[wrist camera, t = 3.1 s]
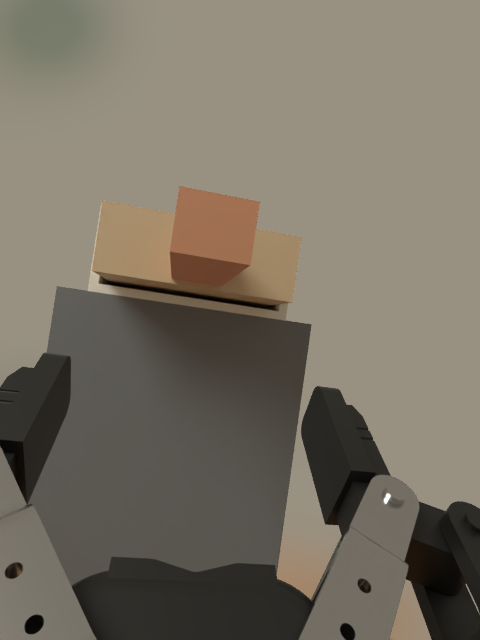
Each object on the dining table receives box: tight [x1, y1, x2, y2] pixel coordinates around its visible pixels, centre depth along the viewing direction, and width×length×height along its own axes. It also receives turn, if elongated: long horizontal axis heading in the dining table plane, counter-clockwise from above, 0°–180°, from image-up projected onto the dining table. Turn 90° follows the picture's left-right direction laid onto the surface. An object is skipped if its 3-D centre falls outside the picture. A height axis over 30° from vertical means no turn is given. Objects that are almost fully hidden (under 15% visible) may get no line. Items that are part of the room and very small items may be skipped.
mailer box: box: [88, 204, 288, 321], centre depth 36 cm, size 14×14×6 cm
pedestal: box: [27, 287, 311, 586], centre depth 35 cm, size 18×14×30 cm
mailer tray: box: [92, 186, 301, 308], centre depth 26 cm, size 12×22×4 cm, turn 9°
